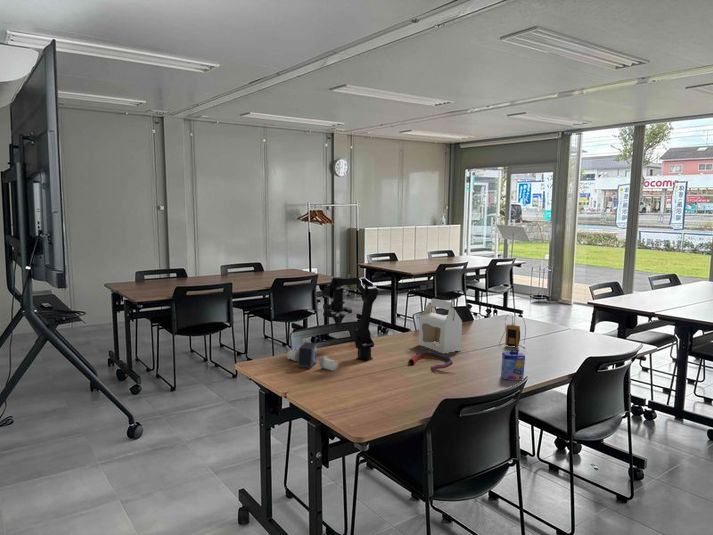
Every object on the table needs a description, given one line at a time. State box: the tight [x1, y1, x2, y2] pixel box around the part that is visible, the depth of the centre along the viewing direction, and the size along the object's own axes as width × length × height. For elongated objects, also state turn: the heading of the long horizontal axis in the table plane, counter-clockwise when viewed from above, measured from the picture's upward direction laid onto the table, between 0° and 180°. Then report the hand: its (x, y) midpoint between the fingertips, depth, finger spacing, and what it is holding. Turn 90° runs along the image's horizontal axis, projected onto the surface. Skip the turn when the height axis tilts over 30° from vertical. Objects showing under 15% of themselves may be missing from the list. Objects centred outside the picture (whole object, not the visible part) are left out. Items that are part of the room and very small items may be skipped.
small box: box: [298, 342, 318, 369], centre depth 259 cm, size 11×6×10 cm, turn 168°
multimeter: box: [498, 313, 527, 348], centre depth 306 cm, size 15×10×20 cm
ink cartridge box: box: [500, 349, 526, 381], centre depth 246 cm, size 10×6×14 cm, turn 88°
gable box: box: [418, 297, 463, 354], centre depth 297 cm, size 22×13×28 cm, turn 33°
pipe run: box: [286, 349, 338, 372], centre depth 261 cm, size 30×6×6 cm, turn 52°
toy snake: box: [407, 350, 457, 375], centre depth 265 cm, size 31×22×5 cm
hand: (337, 327), depth 288 cm, fingers closed
